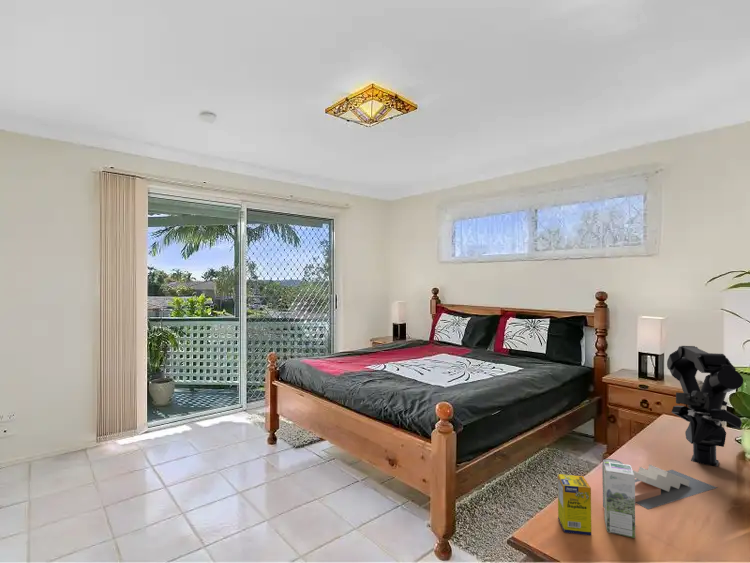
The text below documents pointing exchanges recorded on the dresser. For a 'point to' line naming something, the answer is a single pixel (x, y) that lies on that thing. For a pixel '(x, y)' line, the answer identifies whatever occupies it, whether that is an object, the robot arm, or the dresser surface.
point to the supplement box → (574, 504)
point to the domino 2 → (659, 477)
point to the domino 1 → (651, 481)
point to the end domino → (645, 491)
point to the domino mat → (676, 492)
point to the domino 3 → (668, 475)
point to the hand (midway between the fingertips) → (694, 442)
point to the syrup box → (619, 499)
